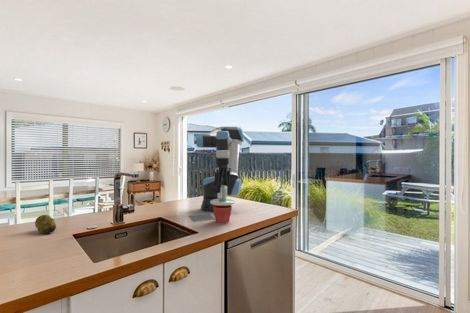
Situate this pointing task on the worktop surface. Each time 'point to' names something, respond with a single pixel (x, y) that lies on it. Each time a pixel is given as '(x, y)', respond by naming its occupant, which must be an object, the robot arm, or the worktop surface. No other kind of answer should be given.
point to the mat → (201, 217)
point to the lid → (222, 201)
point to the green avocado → (45, 224)
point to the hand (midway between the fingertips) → (222, 197)
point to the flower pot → (222, 213)
